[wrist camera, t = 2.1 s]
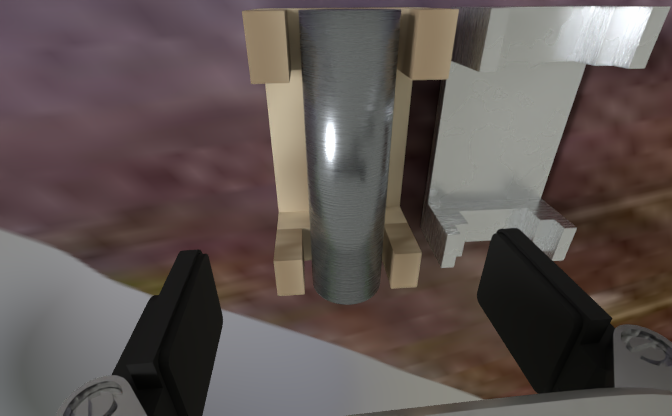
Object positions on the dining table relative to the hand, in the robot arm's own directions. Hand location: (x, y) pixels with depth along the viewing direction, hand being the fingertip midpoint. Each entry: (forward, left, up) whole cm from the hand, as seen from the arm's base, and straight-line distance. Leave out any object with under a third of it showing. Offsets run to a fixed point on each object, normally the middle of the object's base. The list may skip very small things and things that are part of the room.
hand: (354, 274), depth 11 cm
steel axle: (-1, 0, -9) cm, 9 cm away
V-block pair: (-11, 0, -12) cm, 16 cm away
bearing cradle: (-1, -1, -12) cm, 12 cm away
